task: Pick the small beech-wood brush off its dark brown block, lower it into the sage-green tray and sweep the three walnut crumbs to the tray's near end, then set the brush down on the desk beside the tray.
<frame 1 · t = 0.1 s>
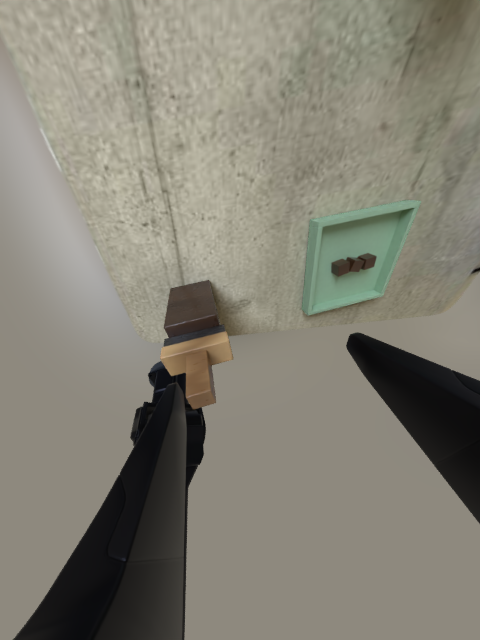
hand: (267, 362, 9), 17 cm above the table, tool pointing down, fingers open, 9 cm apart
tray: (347, 261, 26), on the table
crumb b: (349, 262, 26), resting on tray
crumb c: (361, 259, 26), resting on tray
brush: (197, 339, 18), point 8 cm above the table, touching dark brown block
crumb a: (336, 265, 26), resting on tray
dark brown block: (195, 300, 25), on the table
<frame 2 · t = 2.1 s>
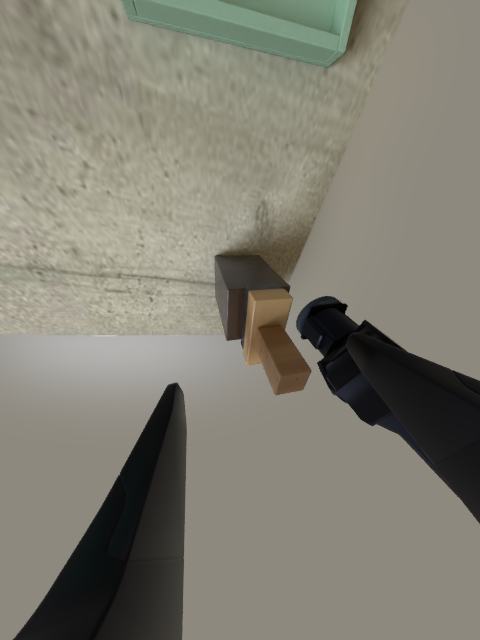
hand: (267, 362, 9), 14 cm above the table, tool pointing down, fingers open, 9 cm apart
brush: (256, 315, 15), point 8 cm above the table, touching dark brown block
dark brown block: (236, 277, 21), on the table
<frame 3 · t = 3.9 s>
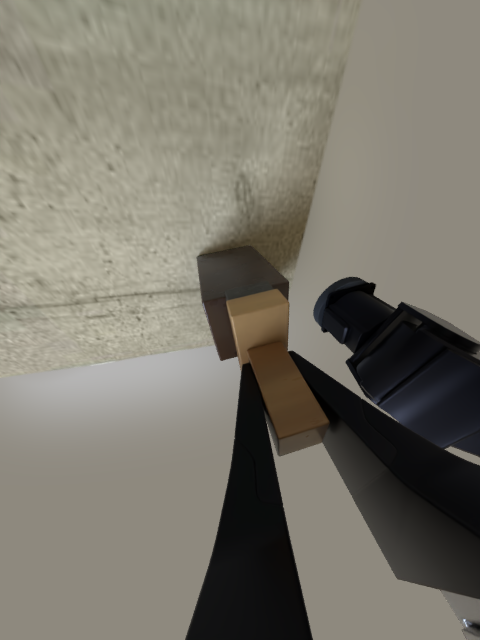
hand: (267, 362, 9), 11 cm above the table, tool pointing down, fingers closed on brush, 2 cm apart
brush: (251, 326, 11), point 8 cm above the table, touching dark brown block, gripper
dark brown block: (228, 276, 18), on the table
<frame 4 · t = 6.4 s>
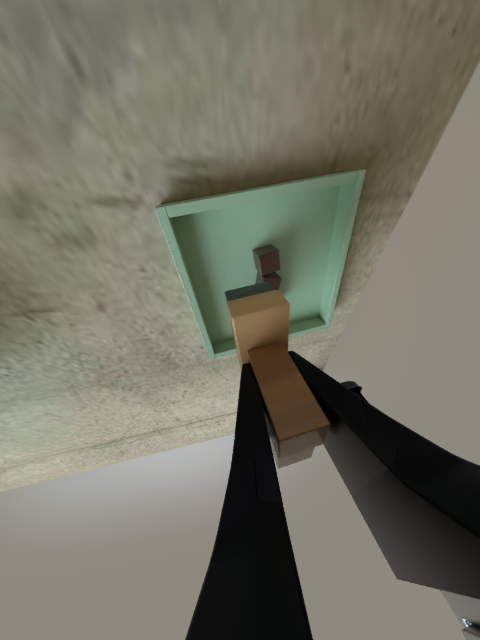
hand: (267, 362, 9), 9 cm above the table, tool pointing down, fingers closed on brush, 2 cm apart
tray: (262, 277, 16), on the table
crumb b: (264, 279, 16), resting on tray
crumb c: (263, 256, 15), resting on tray
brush: (251, 326, 11), point 6 cm above the table, touching gripper
dark brown block: (273, 401, 30), on the table
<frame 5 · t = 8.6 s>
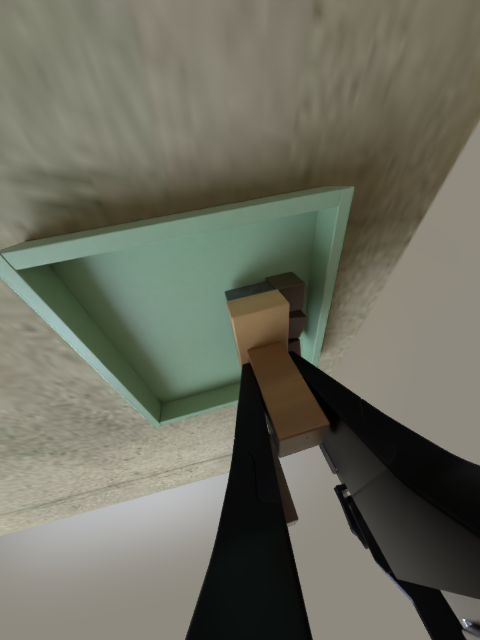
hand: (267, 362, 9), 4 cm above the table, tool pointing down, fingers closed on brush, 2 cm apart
tray: (217, 327, 12), on the table
crumb b: (280, 313, 12), resting on tray, touching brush
crumb c: (278, 286, 11), resting on tray, touching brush
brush: (251, 326, 11), point 1 cm above the table, touching crumb a, crumb b, crumb c, gripper
crumb a: (279, 336, 13), resting on tray, touching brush
dark brown block: (254, 445, 26), on the table
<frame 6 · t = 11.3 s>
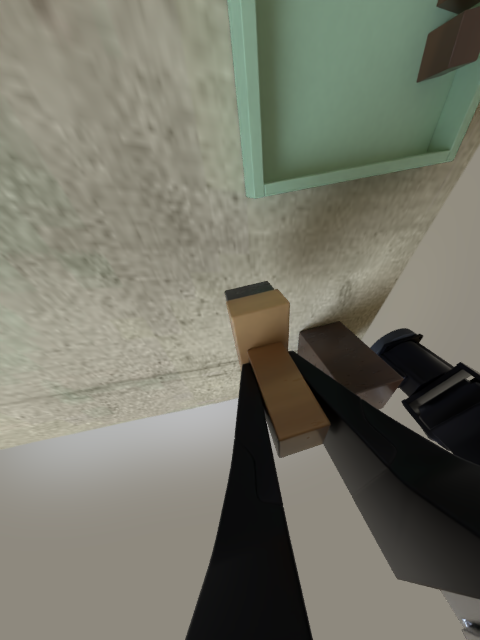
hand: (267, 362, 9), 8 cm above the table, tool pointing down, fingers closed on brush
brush: (251, 326, 11), point 5 cm above the table, touching gripper
crumb a: (434, 55, 10), resting on tray
dark brown block: (316, 341, 22), on the table
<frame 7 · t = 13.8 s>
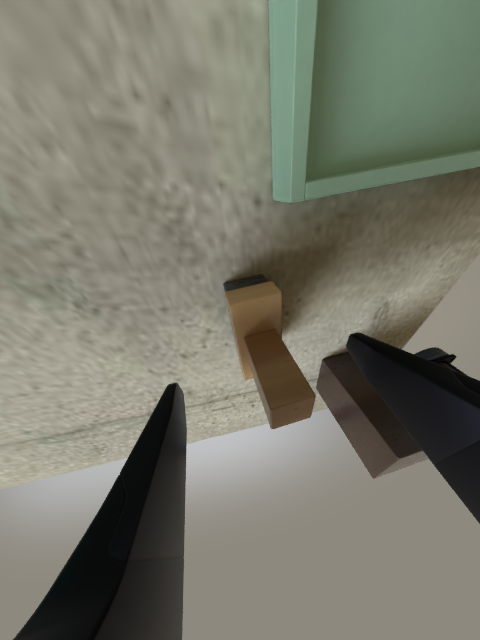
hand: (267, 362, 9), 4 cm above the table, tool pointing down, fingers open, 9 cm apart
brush: (248, 317, 12), on the table
dark brown block: (340, 368, 19), on the table
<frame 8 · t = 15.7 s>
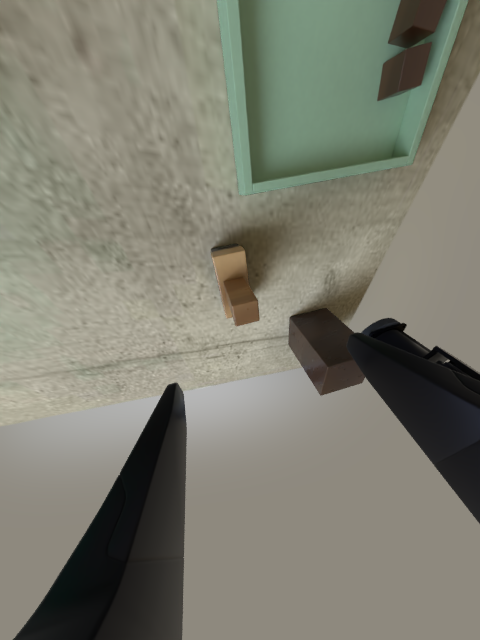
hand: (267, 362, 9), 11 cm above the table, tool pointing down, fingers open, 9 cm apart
tray: (332, 38, 11), on the table
crumb b: (404, 23, 11), resting on tray
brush: (229, 276, 18), on the table
crumb a: (390, 80, 12), resting on tray
dark brown block: (306, 327, 24), on the table
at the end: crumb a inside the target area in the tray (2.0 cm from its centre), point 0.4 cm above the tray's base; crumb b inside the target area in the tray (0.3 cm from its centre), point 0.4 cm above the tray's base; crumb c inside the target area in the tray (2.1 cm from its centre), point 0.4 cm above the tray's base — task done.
